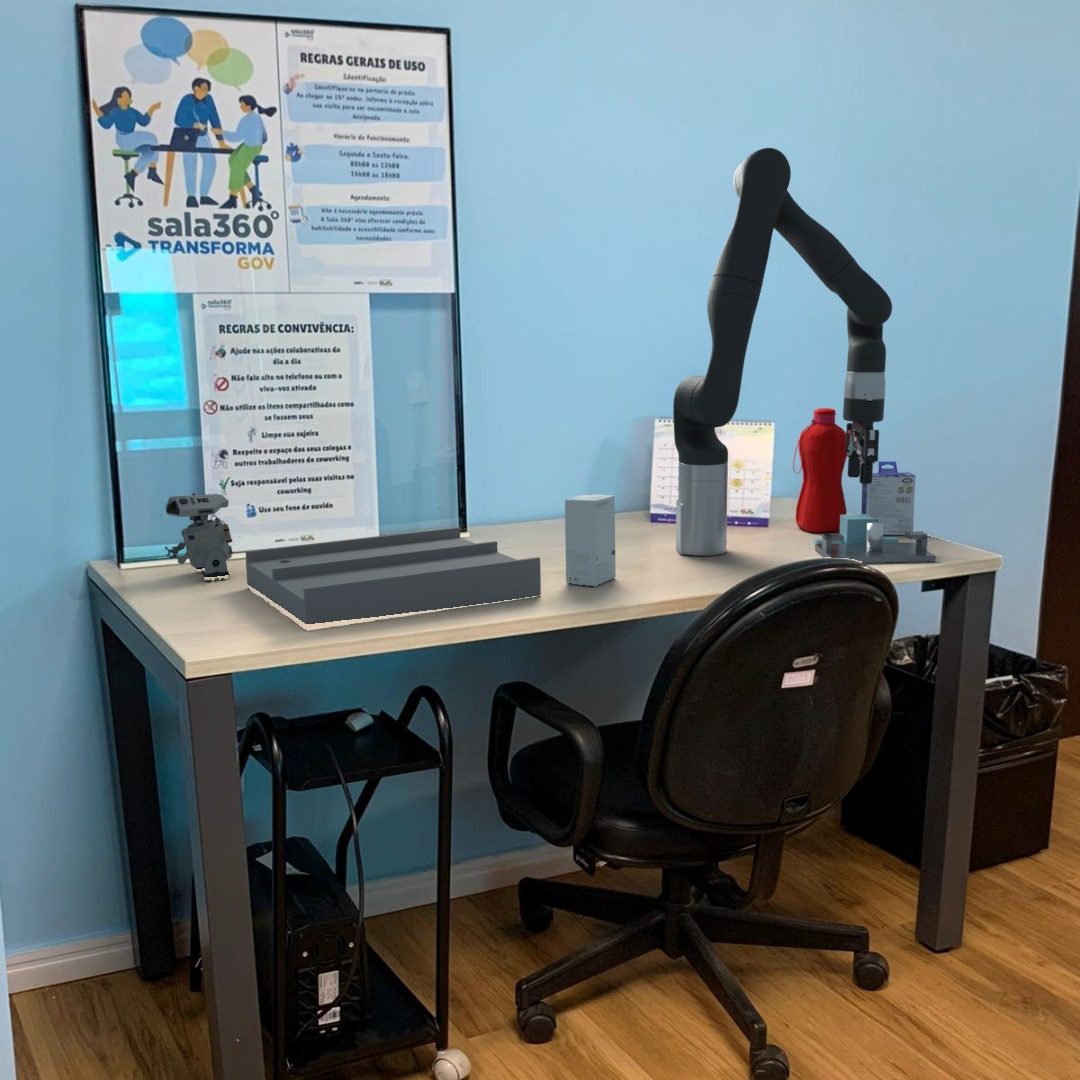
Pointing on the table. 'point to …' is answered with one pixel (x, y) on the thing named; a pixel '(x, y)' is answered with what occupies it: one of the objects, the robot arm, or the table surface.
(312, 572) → the desk organizer
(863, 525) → the light blue skewered cube
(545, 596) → the table surface
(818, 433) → the water bottle
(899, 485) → the ink cartridge box
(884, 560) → the mount
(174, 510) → the figurine
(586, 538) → the skincare box
